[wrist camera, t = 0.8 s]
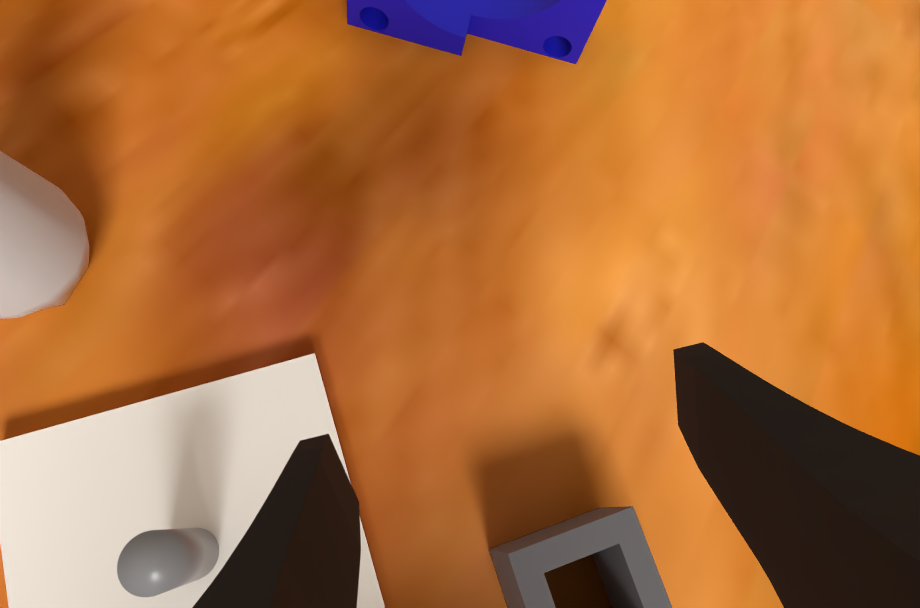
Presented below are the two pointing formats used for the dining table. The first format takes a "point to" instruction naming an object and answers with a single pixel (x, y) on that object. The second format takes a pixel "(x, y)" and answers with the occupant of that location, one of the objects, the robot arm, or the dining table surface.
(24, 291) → the salt shaker
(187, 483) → the peg base
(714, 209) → the dining table surface
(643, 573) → the square frame block
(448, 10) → the blue cradle stand
